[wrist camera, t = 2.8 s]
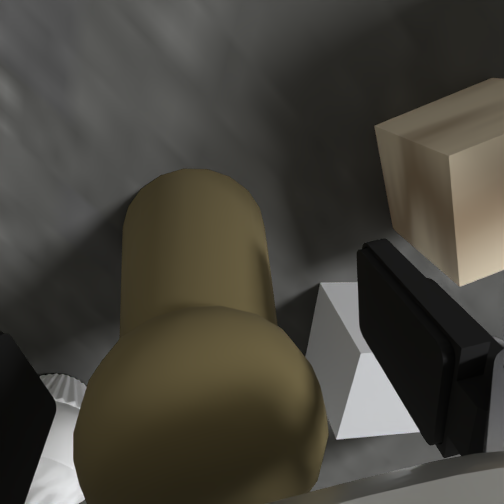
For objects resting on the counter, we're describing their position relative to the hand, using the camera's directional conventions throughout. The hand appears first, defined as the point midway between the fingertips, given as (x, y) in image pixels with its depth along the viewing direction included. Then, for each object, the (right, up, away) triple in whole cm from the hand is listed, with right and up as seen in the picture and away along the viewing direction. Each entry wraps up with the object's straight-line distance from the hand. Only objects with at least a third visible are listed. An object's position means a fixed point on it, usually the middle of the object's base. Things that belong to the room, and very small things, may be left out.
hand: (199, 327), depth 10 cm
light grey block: (+7, -2, +10) cm, 12 cm away
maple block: (+9, +6, +6) cm, 13 cm away
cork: (-1, +3, +6) cm, 7 cm away
